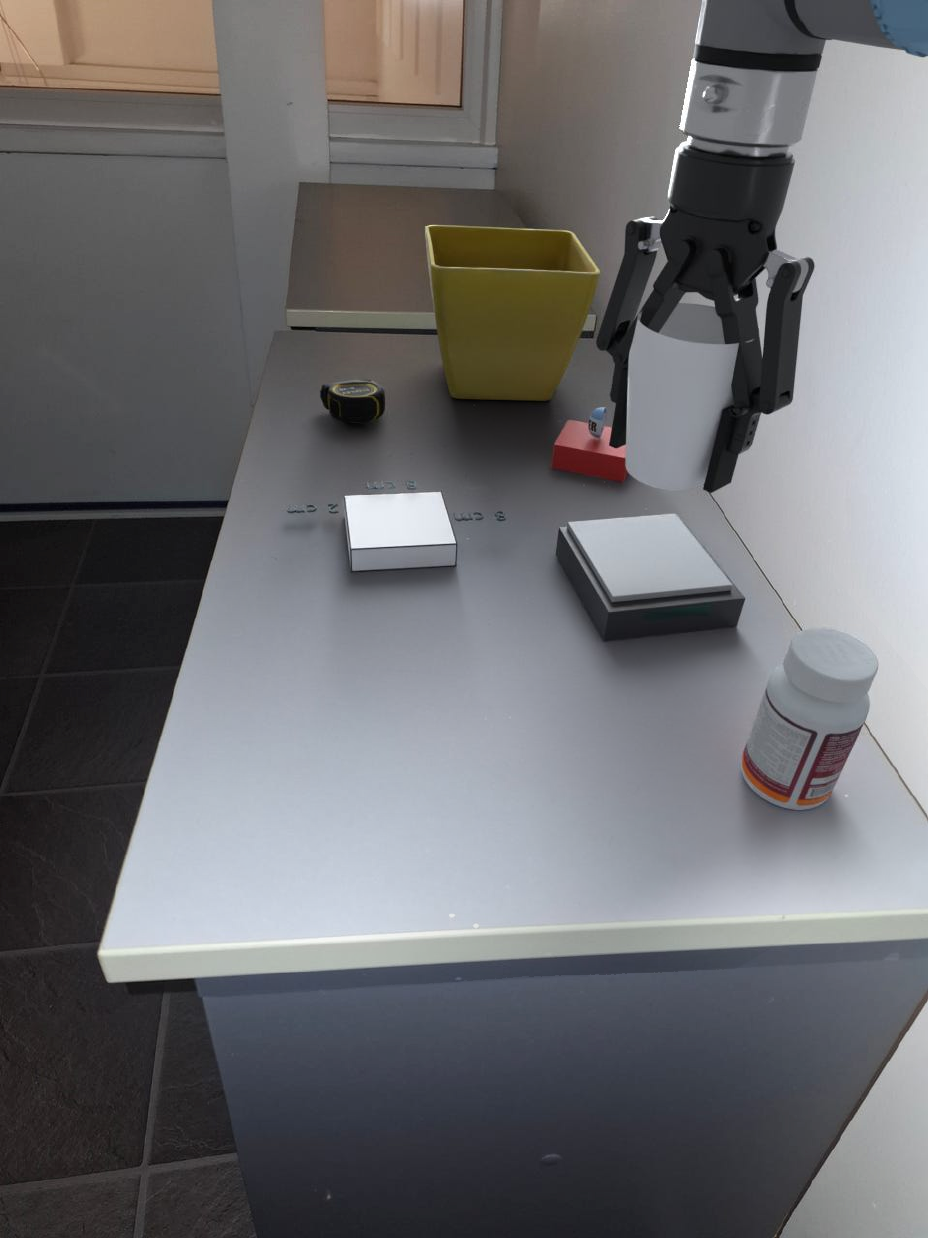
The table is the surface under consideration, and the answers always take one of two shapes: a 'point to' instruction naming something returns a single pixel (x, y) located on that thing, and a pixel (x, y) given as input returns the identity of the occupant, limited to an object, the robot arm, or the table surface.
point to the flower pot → (507, 307)
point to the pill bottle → (809, 718)
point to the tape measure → (354, 400)
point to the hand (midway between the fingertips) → (668, 463)
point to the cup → (677, 397)
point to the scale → (646, 577)
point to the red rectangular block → (589, 449)
